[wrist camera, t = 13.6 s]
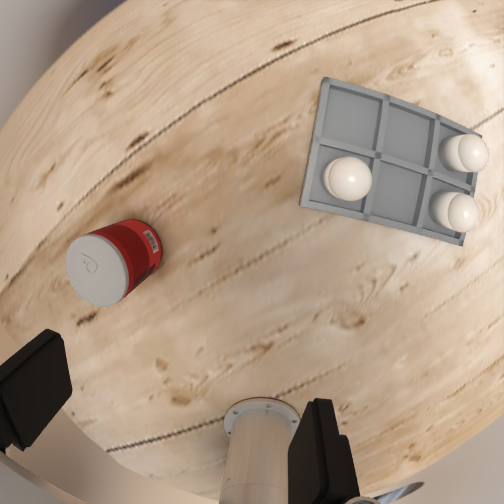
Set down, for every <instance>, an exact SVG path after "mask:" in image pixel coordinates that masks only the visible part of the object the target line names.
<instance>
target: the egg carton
mask: <svg viewBox="0 0 504 504" xmlns="http://www.w3.org/2000/svg"><path fill="white" fill-rule="evenodd" d="M465 134H474V135H477V136H479V137H480V138H481V139H482V135H480V134H478V133H476V132H474V131H472V130H470V129H468V128H466V127H464V126H462V125H460V124H458V123H456V122H454V121H451V120H449V119H447V118H445V117H443V116H440V115H438V114H436V113H434V112H431V111H429V110H426V109H424V108H421V107H419V106H416V105H414V104H411V103H409V102H406V101H403V100H401V99H398V98H395V97H392V96H389V95H386V94H383V93H380V92H377V91H374V90H371V89H368V88H365V87H361V86H358V85H354V84H351V83H347V82H344V81H340V80H336V79H332V78H328V77H324V78H323V80H322V82H321V88H320V94H319V100H318V105H317V111H316V117H315V123H314V128H313V134H312V139H311V145H310V150H309V155H308V161H307V166H306V171H305V176H304V181H303V186H302V191H301V196H300V201H299V205H300V206H302V207H307V208H312V209H316V210H321V211H326V212H330V213H335V214H339V215H343V216H348V217H352V218H356V219H361V220H365V221H369V222H373V223H377V224H381V225H385V226H389V227H393V228H397V229H401V230H405V231H408V232H412V233H416V234H420V235H423V236H427V237H431V238H434V239H438V240H441V241H445V242H448V243H452V244H455V245H459V246H463V242H464V239H465V235H466V232H465V233H461V232H457V231H454V230H452V229H449V228H446V227H443V226H441V225H438V224H436V223H434V222H433V221H432V220H431V218H430V216H429V213H428V203H429V200H430V198H431V196H432V195H433V194H434V193H435V192H437V191H440V190H444V191H451V192H458V193H464V194H467V195H469V196H471V197H472V198H474V193H475V187H476V181H477V175H478V172H456V171H449V170H447V169H445V168H444V167H443V165H442V164H441V162H440V160H439V157H438V146H439V144H440V142H441V141H442V140H443V139H444V138H446V137H452V136H459V135H465ZM348 156H351V157H356V158H359V159H361V160H362V161H364V162H365V163H366V164H367V165H368V167H369V169H370V171H371V174H372V186H371V189H370V191H369V192H368V194H367V195H366V196H365V197H363V198H362V199H360V200H357V201H345V200H342V199H339V198H336V197H333V196H331V195H330V194H328V193H327V192H326V191H325V190H324V188H323V186H322V184H321V172H322V169H323V168H324V166H325V165H326V164H327V163H328V162H330V161H332V160H335V159H338V158H342V157H348Z"/></svg>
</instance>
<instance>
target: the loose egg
mask: <svg viewBox="0 0 504 504" xmlns="http://www.w3.org/2000/svg"><path fill="white" fill-rule="evenodd" d="M321 184H322V186H323V188H324V190H325V191H326V192H327V193H328V194H330V195H331V196H333V197H336V198H339V199H342V200H345V201H357V200H360V199H362V198H363V197H365V196H366V195H367V194H368V192H369V191H370V189H371V186H372V174H371V171H370V169H369V167H368V165H367V164H366V163H365V162H364V161H362V160H361V159H359V158H356V157H351V156H348V157H342V158H338V159H335V160H332V161H330V162H328V163H327V164H326V165H325V166H324V168H323V169H322V172H321Z"/></svg>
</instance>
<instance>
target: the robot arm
mask: <svg viewBox="0 0 504 504" xmlns="http://www.w3.org/2000/svg"><path fill="white" fill-rule="evenodd" d="M71 394H72V385H71V380H70V375H69V370H68V364H67V359H66V353H65V346H64V341H63V339H62V338H61V335H60V334H59V333H57V332H55V331H52V330H50V329H45V330H44V331H43V332H41V333H40V334H39V335H38V336H36V337H35V338H34V339H33V340H31V341H30V342H29V343H27V344H26V345H25V346H24V347H22V348H21V349H20V350H19V351H18V352H16V353H15V354H14V355H13V356H11V357H10V358H9V359H8V360H7V361H5V362H4V363H3V364H2V365H1V366H0V504H88V503H86V502H84V501H82V500H80V499H78V498H76V497H74V496H72V495H70V494H68V493H66V492H64V491H62V490H60V489H59V488H57V487H55V486H53V485H52V484H50V483H48V482H46V481H44V480H43V479H41V478H40V477H38V476H36V475H35V474H33V473H31V472H30V471H28V470H27V469H25V468H24V467H22V466H21V465H19V464H18V463H16V462H15V461H13V460H12V459H11V456H10V447H9V446H10V445H11V444H13V445H14V446H16V447H17V448H18V449H20V450H21V451H24V449H25V448H26V447H30V446H31V445H32V444H33V442H34V441H35V440H36V439H37V437H38V436H39V435H40V433H41V432H42V431H43V429H44V428H45V427H46V426H47V424H48V423H49V422H50V421H51V420H52V418H53V417H54V416H55V415H56V413H57V412H58V411H59V410H60V408H61V407H62V406H63V405H64V404H65V402H66V401H67V400H68V399H69V397H70V396H71ZM223 425H224V430H225V432H226V434H227V435H228V436H229V437H230V443H229V449H228V454H227V460H226V466H225V471H224V477H223V482H222V488H221V494H220V499H219V504H381V503H379V502H378V501H377V500H375V499H373V498H370V497H364V496H361V497H360V492H359V487H358V482H357V477H356V472H355V468H354V463H353V458H352V454H351V449H350V445H349V440H348V438H347V436H346V435H339V431H338V426H337V422H336V417H335V412H334V407H333V403H332V400H331V399H321V398H315V399H314V401H313V402H311V401H309V402H308V404H307V406H306V409H305V411H304V413H303V416H302V418H301V420H300V418H299V416H298V414H297V412H296V411H295V410H294V409H293V408H292V407H290V406H289V405H287V404H285V403H283V402H281V401H278V400H274V399H268V398H254V399H248V400H244V401H241V402H239V403H237V404H235V405H233V406H232V407H231V408H230V409H229V410H228V411H227V413H226V414H225V417H224V422H223Z"/></svg>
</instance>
